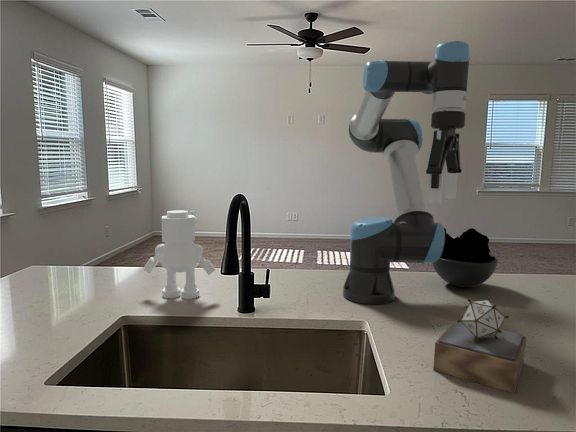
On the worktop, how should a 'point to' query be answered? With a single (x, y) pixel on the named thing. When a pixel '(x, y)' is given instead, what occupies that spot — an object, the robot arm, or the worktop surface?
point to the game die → (483, 319)
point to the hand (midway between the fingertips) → (443, 200)
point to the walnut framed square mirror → (481, 356)
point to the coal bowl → (466, 259)
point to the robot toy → (179, 254)
